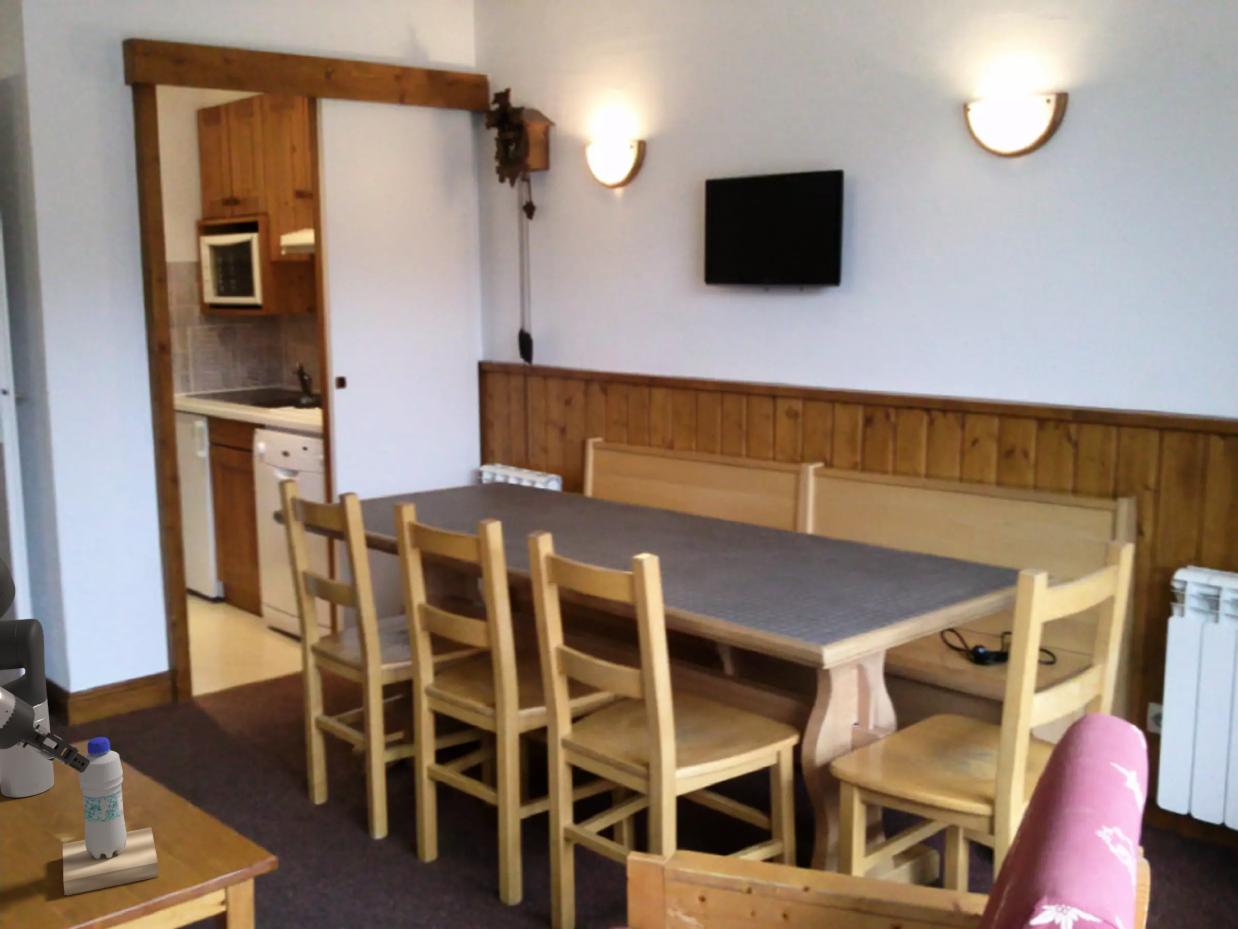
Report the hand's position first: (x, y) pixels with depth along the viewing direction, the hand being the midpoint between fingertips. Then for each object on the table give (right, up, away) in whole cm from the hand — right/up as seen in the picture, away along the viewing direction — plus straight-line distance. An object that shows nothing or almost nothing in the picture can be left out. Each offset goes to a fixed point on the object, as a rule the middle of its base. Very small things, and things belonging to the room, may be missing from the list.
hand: (70, 761), depth 192 cm
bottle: (+3, -17, +7) cm, 19 cm away
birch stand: (+3, -20, +8) cm, 21 cm away
